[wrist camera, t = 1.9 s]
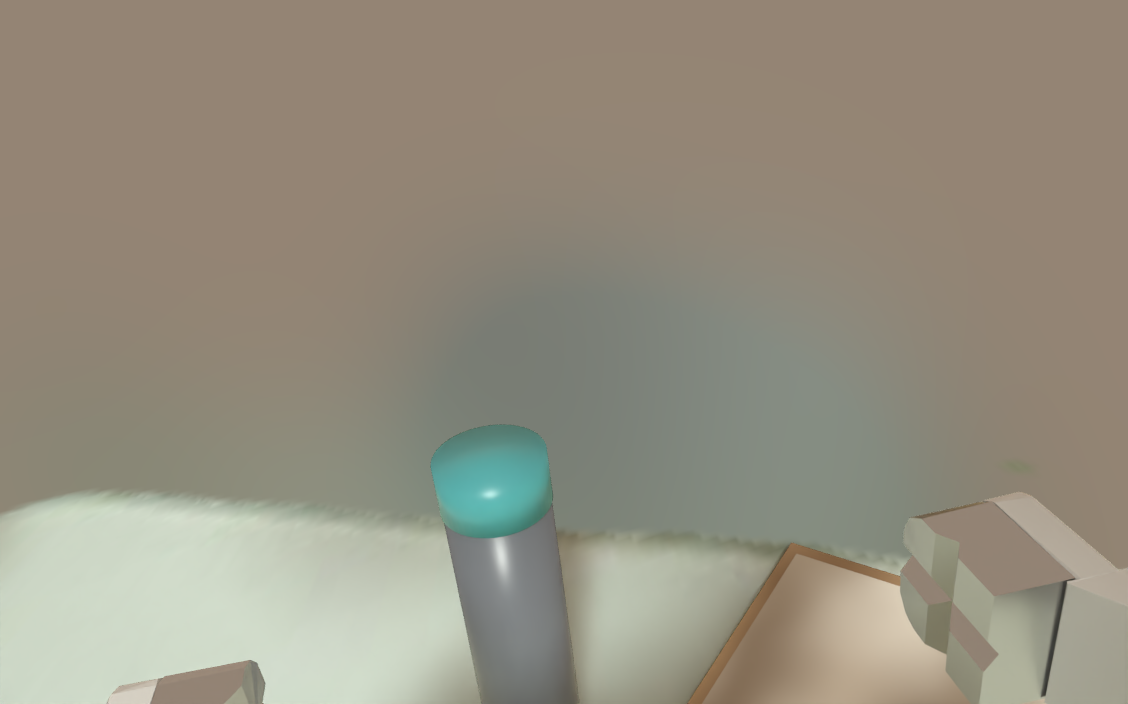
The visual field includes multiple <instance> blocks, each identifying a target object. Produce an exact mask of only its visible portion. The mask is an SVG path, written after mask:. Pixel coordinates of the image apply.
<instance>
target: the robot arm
mask: <svg viewBox="0 0 1128 704" xmlns="http://www.w3.org/2000/svg"><path fill="white" fill-rule="evenodd" d="M903 544H904V545H905V546H906V548H907V549H908V550H909V551H910V552H911V554H912V557H911V558H910V559H909V561H908V562H907V563H906V565H905V566H904V567H903V569H902V570H901V578H900V594H901V597H902V601H903V605H904V609H905V613H906V615H907V617H908V619H909V621H910V623H911V625H912V627H913V629H914V630H915V632H916V633H917V634H918V636H919V637H920V638H921V640H922V641H923V642H924V644H926V645H928V646H930V647H932V648H934V649H936V650H938V651H940V652H942V653H944V654H946V655H947V656H946V668H945V671H946V672H947V674H948V675H949V676H950V678H951V679H952V680H953V681H954V683H955V684H956V685H957V687H958V688H959V689H960V690H961V692H962V693H963V694H964V696H965V697H966V698H967V699H968V701H969V702H970V703H971V704H1022V703H1026V702H1031V701H1036V700H1040V699H1045V703H1047V704H1128V568H1126V569H1121V570H1118V569H1117V568H1116V567H1115V566H1114V565H1113V564H1111V563H1110V562H1109V561H1108V560H1107V559H1105V558H1104V557H1103V556H1102V555H1100V553H1098V552H1097V551H1096V550H1095V549H1094V548H1092V547H1091V546H1090V545H1089V544H1088V543H1087V542H1085V541H1084V540H1083V539H1082V538H1081V537H1079V536H1078V535H1077V534H1076V533H1075V532H1074V531H1072V530H1071V529H1070V528H1069V527H1068V526H1067V525H1065V524H1064V523H1063V522H1062V521H1061V520H1060V519H1058V518H1057V517H1056V516H1055V515H1054V514H1052V513H1051V512H1050V511H1049V510H1048V509H1047V508H1045V507H1044V506H1043V505H1042V504H1041V503H1039V502H1038V501H1037V500H1036V499H1035V498H1034V497H1032V496H1031V495H1028V494H1025V493H1022V492H1017V493H1012V494H1008V495H1004V496H1000V497H996V498H991V499H987V500H984V501H982V502H976V503H972V504H967V505H963V506H959V507H954V508H950V509H945V510H941V511H936V512H932V513H927V514H923V515H919V516H915V517H910V518H909V520H908V521H907V523H906V526H905V527H904V537H903ZM264 689H265V681H264V679H263V676H262V674H261V671H260V669H259V667H258V664H257V663H256V662H254V661H251V660H248V661H243V662H238V663H232V664H227V665H222V666H217V667H212V668H206V669H201V670H196V671H191V672H186V673H180V674H175V675H170V676H165V677H164V678H160V679H154V680H149V681H144V682H138V683H133V684H128V685H122V686H119V687H118V688H117V689H116V690H115V691H114V692H113V693H112V694H111V696H110V697H109V699H108V701H107V704H263V703H262V702H263V695H264Z"/></svg>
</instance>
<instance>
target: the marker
mask: <svg viewBox="0 0 1128 704" xmlns="http://www.w3.org/2000/svg"><path fill="white" fill-rule="evenodd" d="M431 471H432V476H433V481H434V485H435V490H436V495H437V500H438V504H439V510H440V514H441V518H442V520H443V522H444V524H445V529H446V534H447V539H448V544H449V548H450V553H451V558H452V563H453V568H454V573H455V577H456V582H457V587H458V592H459V597H460V602H461V606H462V611H463V616H464V621H465V626H466V630H467V635H468V640H469V645H470V650H471V655H472V659H473V664H474V669H475V674H476V679H477V684H478V688H479V693H480V698H481V703H482V704H579V697H578V690H577V683H576V675H575V668H574V660H573V653H572V646H571V638H570V631H569V623H568V616H567V609H566V601H565V594H564V587H563V579H562V572H561V564H560V557H559V550H558V542H557V535H556V527H555V520H554V513H553V506H552V500H553V492H552V484H551V477H550V470H549V462H548V455H547V448H546V444H545V442H544V440H543V439H542V437H540V436H539V435H538V434H537V433H535V432H534V431H532V430H530V429H527V428H524V427H520V426H514V425H489V426H483V427H478V428H474V429H471V430H468V431H465V432H462V433H460V434H458V435H456V436H454V437H452V438H450V439H449V440H448V441H446V442H445V443H444V444H442V445H441V446H440V447H439V448H438V449H437V450H436V452H435V453H434V455H433V457H432V460H431Z"/></svg>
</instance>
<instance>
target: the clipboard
mask: <svg viewBox="0 0 1128 704" xmlns="http://www.w3.org/2000/svg"><path fill="white" fill-rule="evenodd" d="M900 578H901V577H900V576H897V575H894V574H891V573H888V572H884V571H881V570H878V569H875V568H871V567H868V566H865V565H862V564H859V563H855V562H852V561H849V560H846V559H842V558H839V557H836V556H833V555H830V554H826V553H823V552H820V551H817V550H813V549H810V548H807V547H804V546H800V545H797V544H794V543H791V544H790V546H789V547H788V549H787V550H786V552H785V553H784V555H783V556H782V558H781V560H780V561H779V563H778V564H777V566H776V567H775V569H774V570H773V572H772V573H771V575H770V577H769V578H768V580H767V581H766V583H765V584H764V586H763V587H762V589H761V590H760V592H759V594H758V595H757V597H756V598H755V600H754V601H753V603H752V604H751V606H750V607H749V609H748V611H747V612H746V614H745V615H744V617H743V618H742V620H741V621H740V623H739V624H738V626H737V628H736V629H735V631H734V632H733V634H732V635H731V637H730V638H729V640H728V641H727V643H726V645H725V646H724V648H723V649H722V651H721V652H720V654H719V655H718V657H717V658H716V660H715V662H714V663H713V665H712V666H711V668H710V669H709V671H708V672H707V674H706V675H705V677H704V679H703V680H702V682H701V683H700V685H699V686H698V688H697V689H696V691H695V693H694V694H693V696H692V697H691V699H690V700H689V702H688V703H687V704H971V703H970V702H969V701H968V699H967V698H966V697H965V696H964V694H963V693H962V692H961V690H960V689H959V688H958V687H957V685H956V684H955V683H954V681H953V680H952V679H951V678H950V676H949V675H948V674H947V672H946V671H945V668H946V656H947V655H946V654H944V653H942V652H940V651H938V650H936V649H934V648H932V647H930V646H928V645H926V644H924V642H923V641H922V640H921V638H920V637H919V636H918V634H917V633H916V632H915V630H914V629H913V627H912V625H911V623H910V621H909V619H908V617H907V615H906V613H905V609H904V605H903V601H902V597H901V594H900ZM1022 704H1047V703H1045V699H1040V700H1036V701H1031V702H1026V703H1022Z"/></svg>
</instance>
